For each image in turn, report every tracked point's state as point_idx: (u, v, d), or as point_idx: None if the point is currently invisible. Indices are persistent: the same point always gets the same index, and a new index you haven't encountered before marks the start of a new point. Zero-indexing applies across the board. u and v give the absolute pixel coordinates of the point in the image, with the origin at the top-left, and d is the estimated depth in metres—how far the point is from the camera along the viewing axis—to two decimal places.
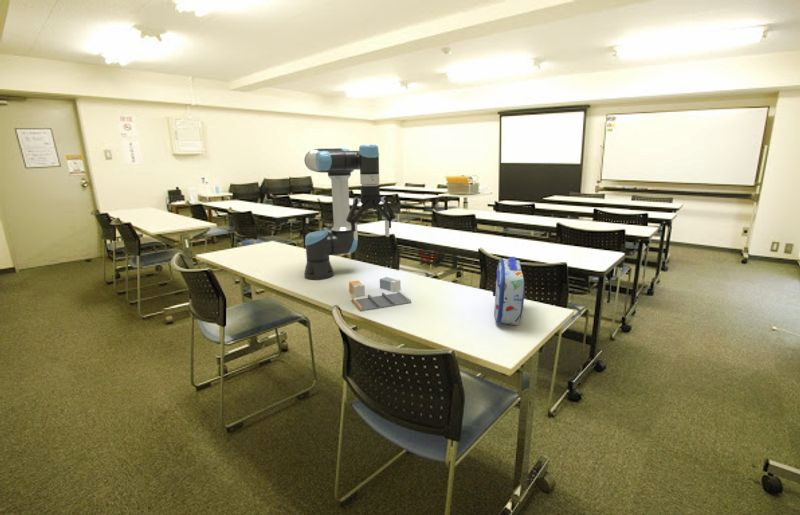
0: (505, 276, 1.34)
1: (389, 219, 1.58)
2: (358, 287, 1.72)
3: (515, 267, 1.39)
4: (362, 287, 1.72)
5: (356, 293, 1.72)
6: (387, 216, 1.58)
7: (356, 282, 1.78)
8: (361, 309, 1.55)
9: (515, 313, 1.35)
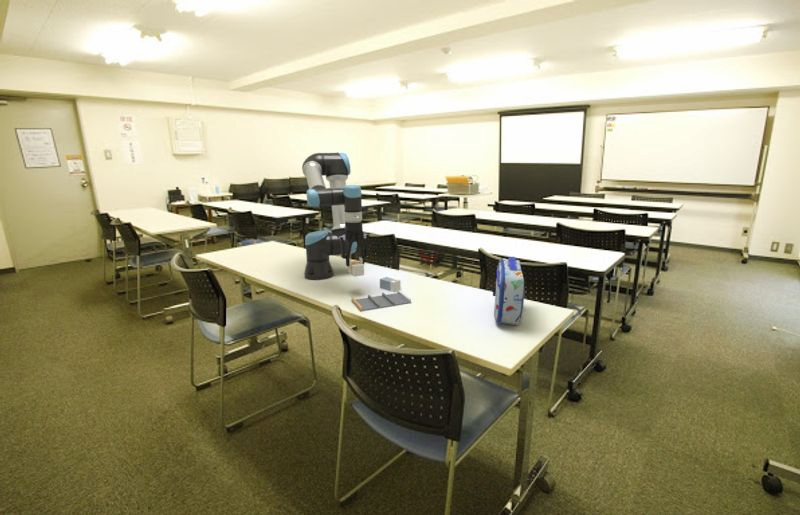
0: (505, 276, 1.34)
1: (362, 256, 1.73)
2: (357, 266, 1.69)
3: (515, 267, 1.39)
4: (361, 267, 1.70)
5: (355, 272, 1.70)
6: (362, 253, 1.73)
7: (355, 262, 1.75)
8: (361, 309, 1.55)
9: (515, 313, 1.35)
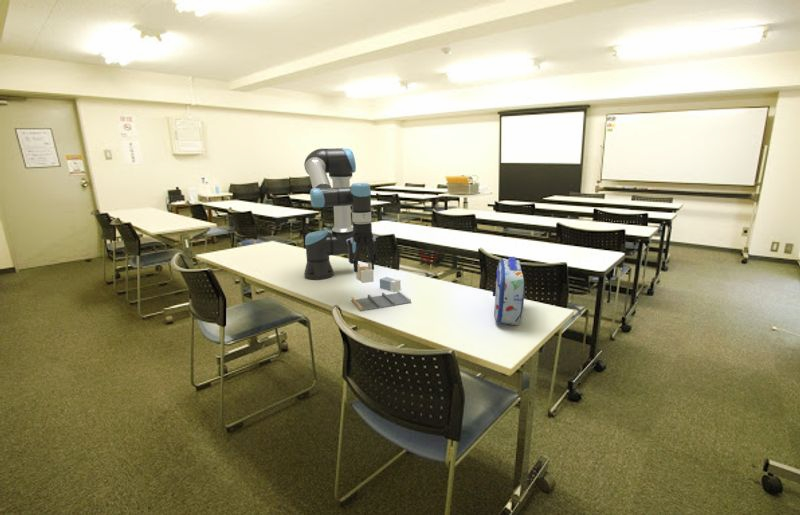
0: (505, 276, 1.34)
1: (372, 261, 1.58)
2: (366, 272, 1.54)
3: (515, 267, 1.39)
4: (371, 272, 1.55)
5: (364, 278, 1.54)
6: (371, 257, 1.58)
7: (364, 267, 1.60)
8: (361, 309, 1.55)
9: (515, 313, 1.35)
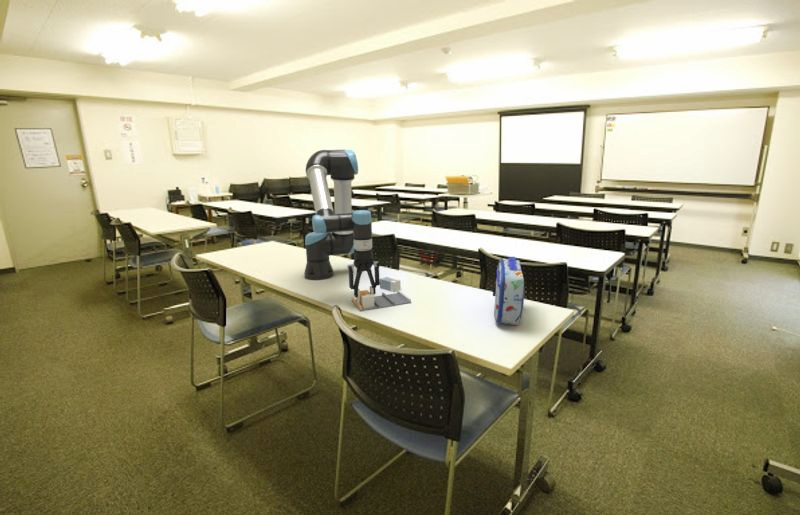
0: (505, 276, 1.34)
1: (373, 286, 1.61)
2: (367, 298, 1.57)
3: (515, 267, 1.39)
4: (372, 298, 1.58)
5: (365, 304, 1.57)
6: (373, 282, 1.60)
7: (365, 292, 1.63)
8: (361, 309, 1.55)
9: (515, 313, 1.35)
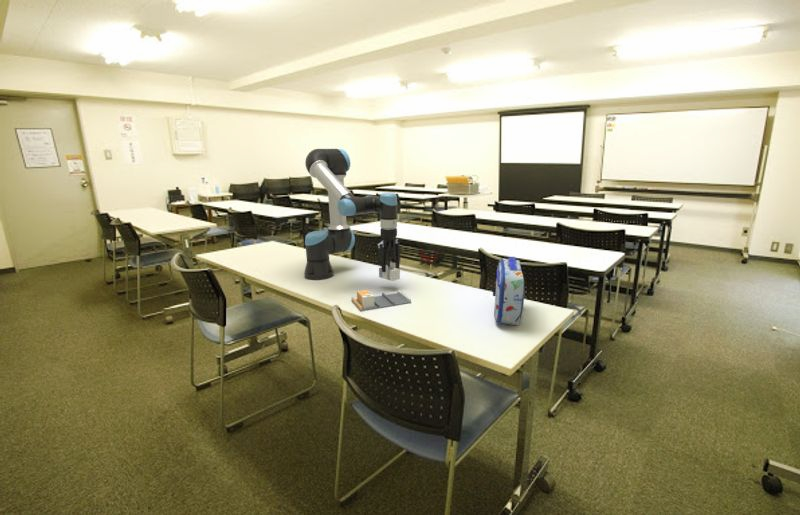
0: (505, 276, 1.34)
1: (395, 261, 1.81)
2: (367, 298, 1.57)
3: (515, 267, 1.39)
4: (372, 298, 1.58)
5: (365, 304, 1.57)
6: (395, 258, 1.80)
7: (365, 292, 1.63)
8: (361, 309, 1.55)
9: (515, 313, 1.35)
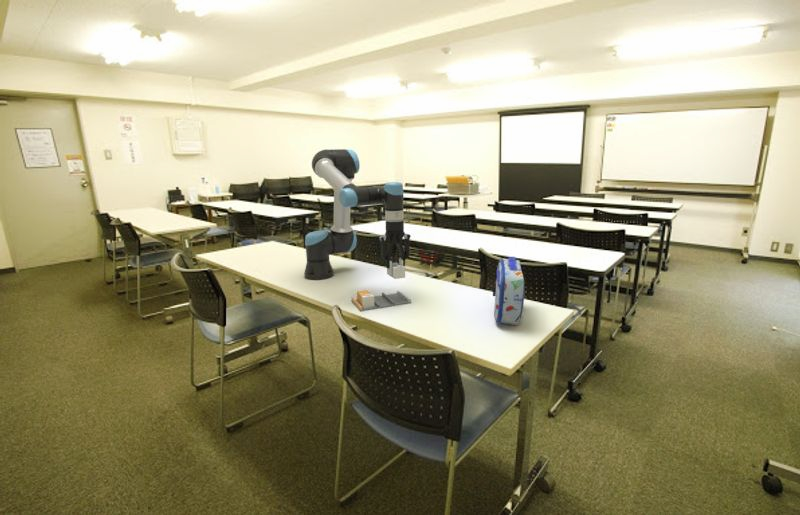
0: (505, 276, 1.34)
1: (403, 257, 1.63)
2: (367, 298, 1.57)
3: (515, 267, 1.39)
4: (372, 298, 1.58)
5: (365, 304, 1.57)
6: (403, 254, 1.63)
7: (365, 292, 1.63)
8: (361, 309, 1.55)
9: (515, 313, 1.35)
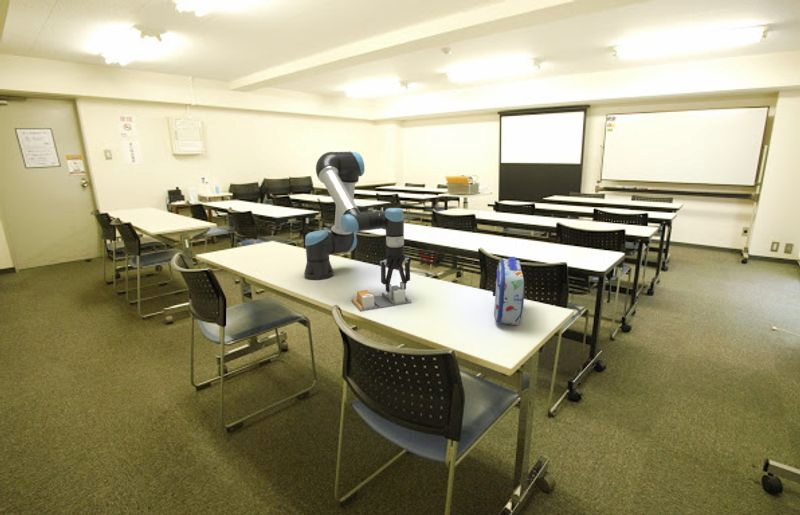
0: (505, 276, 1.34)
1: (404, 281, 1.66)
2: (367, 298, 1.57)
3: (515, 267, 1.39)
4: (372, 298, 1.58)
5: (365, 304, 1.57)
6: (404, 278, 1.66)
7: (365, 292, 1.63)
8: (361, 309, 1.55)
9: (515, 313, 1.35)
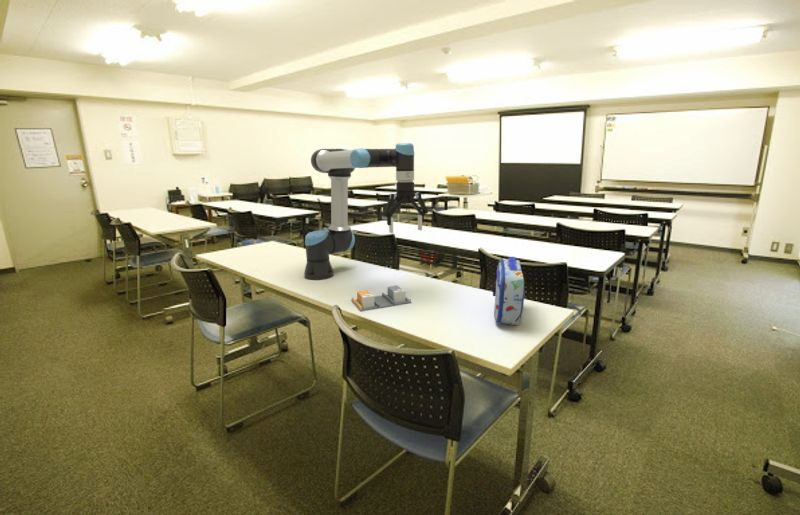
0: (505, 276, 1.34)
1: (422, 214, 1.67)
2: (367, 298, 1.57)
3: (515, 267, 1.39)
4: (372, 298, 1.58)
5: (365, 304, 1.57)
6: (420, 211, 1.67)
7: (365, 292, 1.63)
8: (361, 309, 1.55)
9: (515, 313, 1.35)
